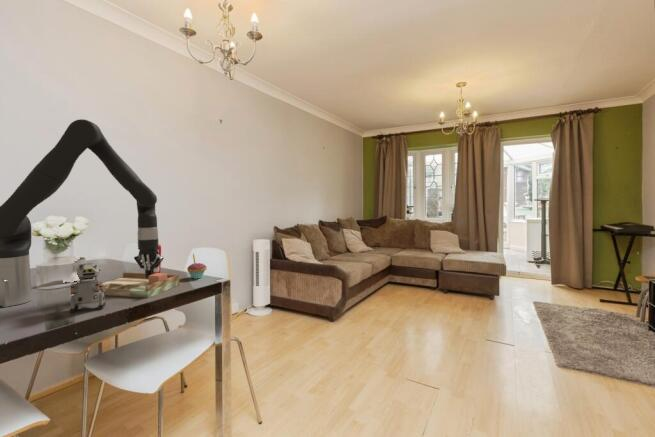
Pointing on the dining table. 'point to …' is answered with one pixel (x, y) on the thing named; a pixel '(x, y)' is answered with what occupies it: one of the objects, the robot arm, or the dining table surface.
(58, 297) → the dining table surface
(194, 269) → the cupcake
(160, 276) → the block
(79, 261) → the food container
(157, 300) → the dining table surface
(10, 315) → the dining table surface
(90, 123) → the robot arm
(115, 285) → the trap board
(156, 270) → the beverage can
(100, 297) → the figurine
